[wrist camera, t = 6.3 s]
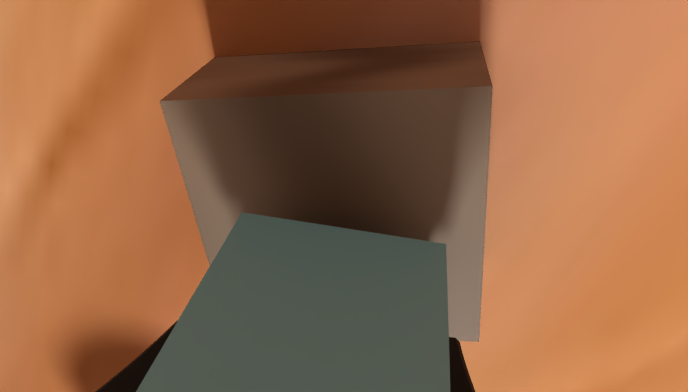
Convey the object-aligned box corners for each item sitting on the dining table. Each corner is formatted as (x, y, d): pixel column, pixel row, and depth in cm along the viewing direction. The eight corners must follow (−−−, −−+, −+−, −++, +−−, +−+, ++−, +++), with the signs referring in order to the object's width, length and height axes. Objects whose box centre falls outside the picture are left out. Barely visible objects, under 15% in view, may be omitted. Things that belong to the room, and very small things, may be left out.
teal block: (446, 243, 12) (453, 472, 7) (414, 379, 15) (403, 609, 10) (241, 212, 12) (125, 408, 8) (247, 349, 15) (163, 556, 10)
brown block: (479, 38, 14) (492, 85, 11) (470, 258, 19) (478, 341, 15) (218, 54, 16) (159, 100, 13) (263, 255, 20) (229, 330, 17)
